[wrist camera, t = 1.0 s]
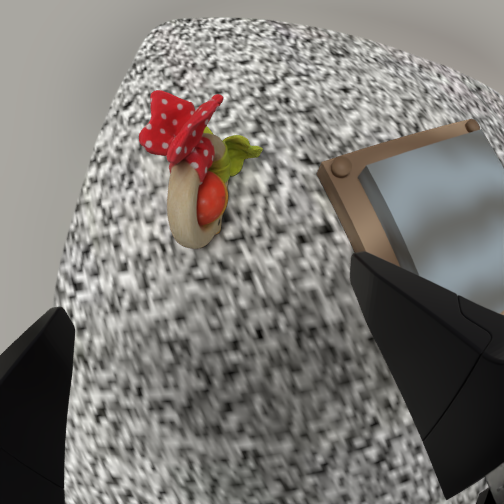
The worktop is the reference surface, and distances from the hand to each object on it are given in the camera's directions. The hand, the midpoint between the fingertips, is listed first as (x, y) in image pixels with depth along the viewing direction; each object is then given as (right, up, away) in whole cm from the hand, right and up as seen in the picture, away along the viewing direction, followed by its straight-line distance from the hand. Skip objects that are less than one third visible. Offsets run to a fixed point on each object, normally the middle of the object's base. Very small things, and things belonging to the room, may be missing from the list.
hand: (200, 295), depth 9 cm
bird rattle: (-1, +5, +15) cm, 16 cm away
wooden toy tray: (+18, +2, +14) cm, 23 cm away
